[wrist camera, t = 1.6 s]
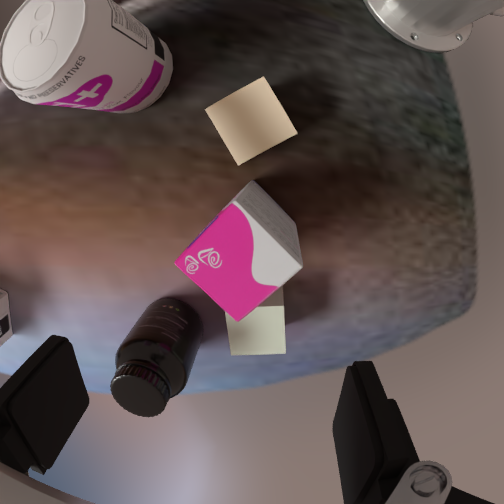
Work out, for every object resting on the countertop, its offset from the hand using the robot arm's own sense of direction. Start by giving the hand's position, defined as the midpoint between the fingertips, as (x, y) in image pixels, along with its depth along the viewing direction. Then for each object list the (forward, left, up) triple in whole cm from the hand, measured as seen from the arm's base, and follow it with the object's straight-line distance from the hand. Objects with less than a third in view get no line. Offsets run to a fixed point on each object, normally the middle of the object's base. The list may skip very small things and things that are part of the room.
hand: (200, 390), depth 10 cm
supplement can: (+7, -17, -22) cm, 29 cm away
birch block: (-3, -9, -22) cm, 24 cm away
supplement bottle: (+11, +8, -22) cm, 26 cm away
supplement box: (0, 0, -22) cm, 22 cm away
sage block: (+1, +8, -22) cm, 23 cm away
